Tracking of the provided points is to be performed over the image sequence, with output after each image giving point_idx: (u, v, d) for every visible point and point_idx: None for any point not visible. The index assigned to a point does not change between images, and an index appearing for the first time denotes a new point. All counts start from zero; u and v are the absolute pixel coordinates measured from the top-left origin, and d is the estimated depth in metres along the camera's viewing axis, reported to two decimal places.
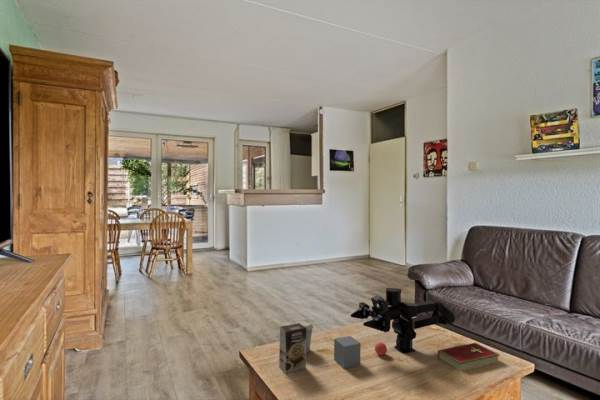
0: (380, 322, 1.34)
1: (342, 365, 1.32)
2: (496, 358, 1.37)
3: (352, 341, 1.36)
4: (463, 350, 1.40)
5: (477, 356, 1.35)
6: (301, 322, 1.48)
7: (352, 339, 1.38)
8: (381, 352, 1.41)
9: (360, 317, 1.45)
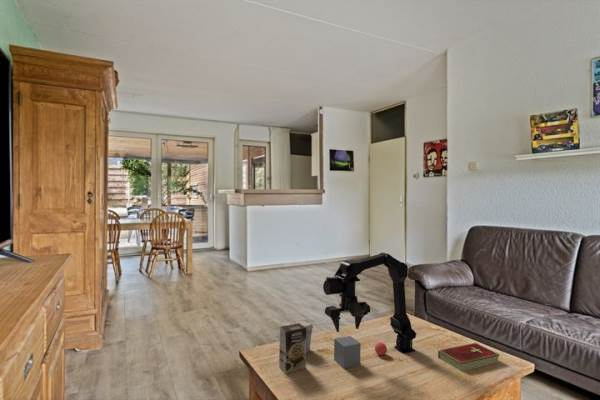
0: None
1: (342, 365, 1.32)
2: (496, 358, 1.37)
3: (352, 341, 1.36)
4: (463, 350, 1.40)
5: (477, 356, 1.35)
6: (301, 322, 1.48)
7: (352, 339, 1.38)
8: (381, 352, 1.41)
9: None
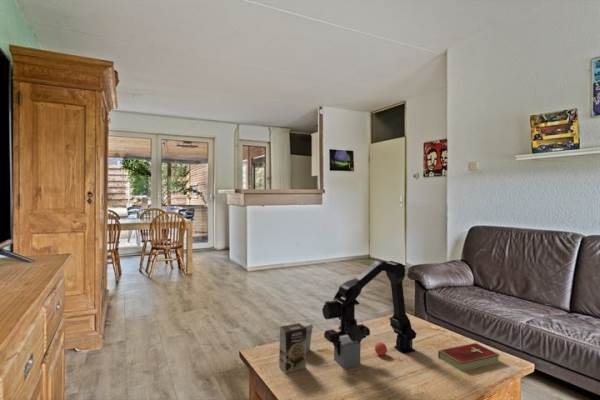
0: None
1: (342, 365, 1.32)
2: (496, 358, 1.37)
3: (352, 341, 1.36)
4: (463, 350, 1.40)
5: (478, 356, 1.35)
6: (301, 322, 1.48)
7: None
8: (381, 352, 1.41)
9: None
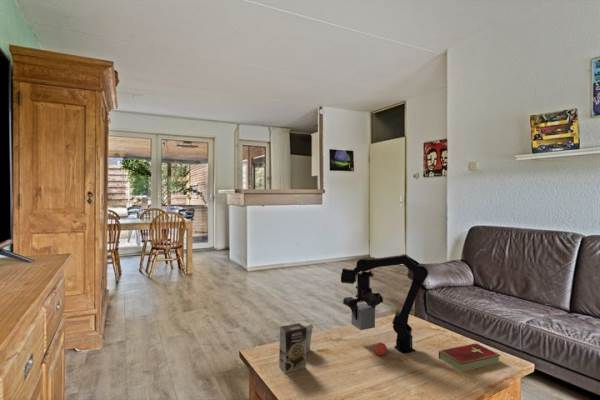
0: None
1: (359, 327, 1.51)
2: (497, 358, 1.37)
3: (367, 307, 1.55)
4: (464, 351, 1.40)
5: (478, 357, 1.35)
6: (301, 322, 1.48)
7: (367, 306, 1.57)
8: (381, 352, 1.41)
9: None
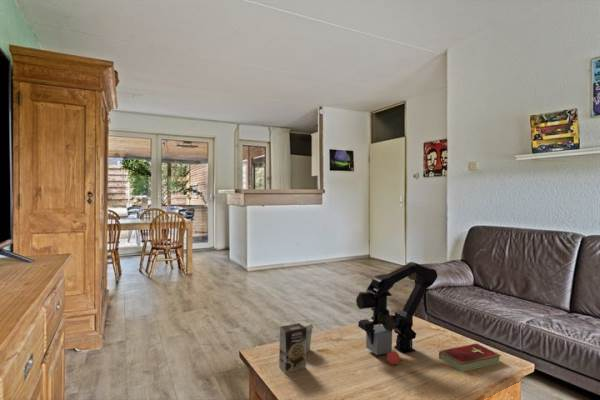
0: None
1: (375, 352, 1.40)
2: (497, 359, 1.37)
3: (384, 330, 1.44)
4: (464, 351, 1.40)
5: (478, 357, 1.35)
6: (301, 322, 1.48)
7: (383, 328, 1.46)
8: None
9: None
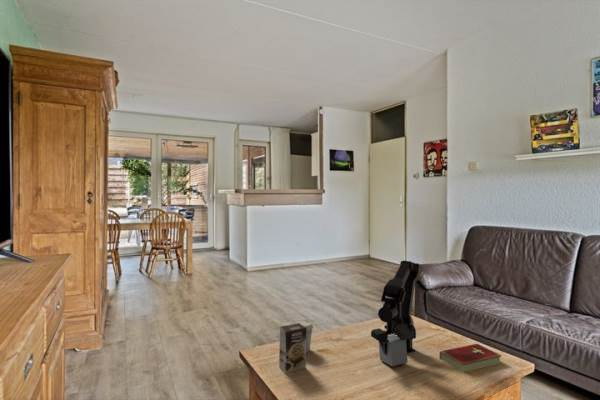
0: None
1: (390, 363, 1.32)
2: (498, 359, 1.37)
3: (397, 338, 1.36)
4: (464, 351, 1.40)
5: (479, 357, 1.35)
6: (301, 322, 1.48)
7: (396, 337, 1.38)
8: None
9: None
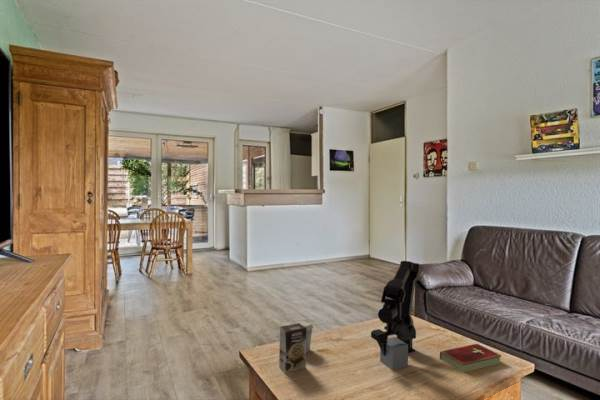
0: None
1: (390, 366, 1.31)
2: (498, 359, 1.37)
3: (399, 342, 1.35)
4: (465, 351, 1.40)
5: (479, 357, 1.35)
6: (301, 322, 1.48)
7: (398, 340, 1.37)
8: None
9: None
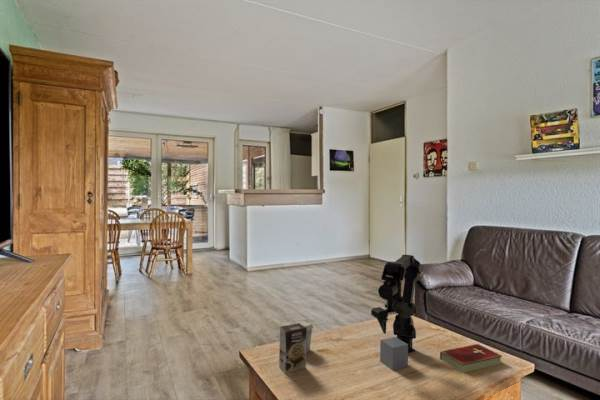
0: None
1: (390, 366, 1.31)
2: (499, 359, 1.36)
3: (399, 342, 1.35)
4: (465, 351, 1.39)
5: (480, 357, 1.34)
6: (301, 322, 1.48)
7: (398, 340, 1.37)
8: None
9: None
